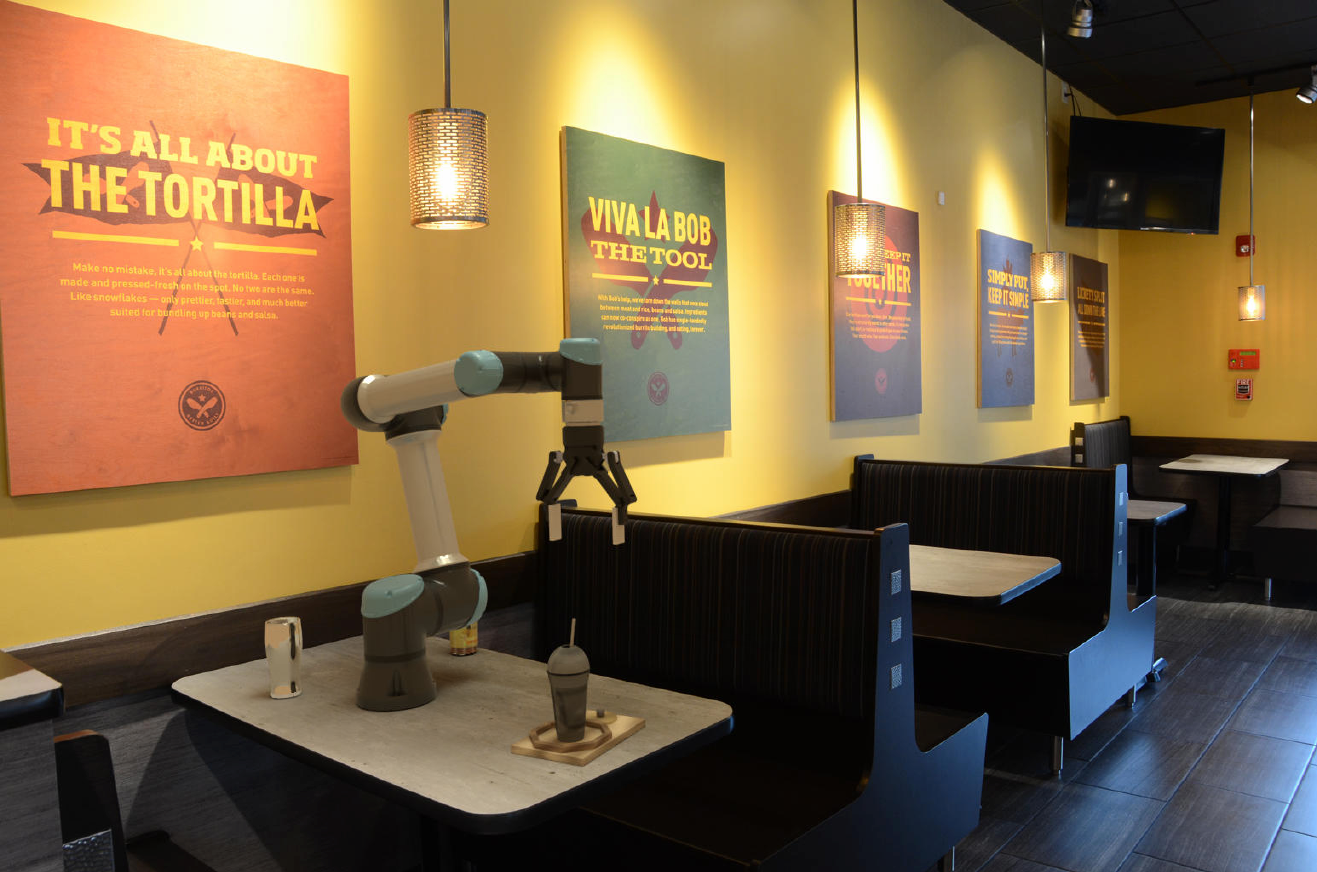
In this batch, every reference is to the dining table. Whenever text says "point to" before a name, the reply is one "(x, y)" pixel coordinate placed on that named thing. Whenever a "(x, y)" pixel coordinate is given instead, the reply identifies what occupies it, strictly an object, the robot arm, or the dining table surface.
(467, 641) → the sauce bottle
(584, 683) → the beverage cup
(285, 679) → the beer glass
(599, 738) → the board
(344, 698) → the dining table surface
